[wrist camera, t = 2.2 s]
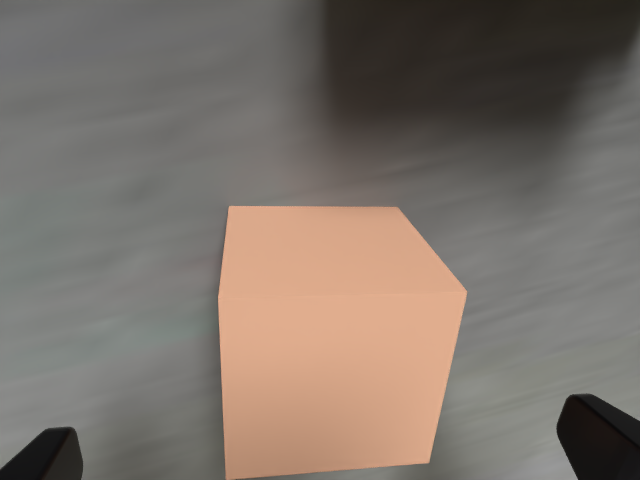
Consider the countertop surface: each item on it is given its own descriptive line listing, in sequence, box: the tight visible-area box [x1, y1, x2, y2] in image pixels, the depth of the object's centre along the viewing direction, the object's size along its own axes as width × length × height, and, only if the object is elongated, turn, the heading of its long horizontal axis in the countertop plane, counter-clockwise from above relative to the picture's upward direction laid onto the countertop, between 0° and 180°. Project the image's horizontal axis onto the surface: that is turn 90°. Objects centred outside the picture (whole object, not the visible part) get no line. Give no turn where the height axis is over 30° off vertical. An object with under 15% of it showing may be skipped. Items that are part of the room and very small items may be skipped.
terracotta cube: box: [218, 206, 467, 480], centre depth 11 cm, size 4×4×4 cm
